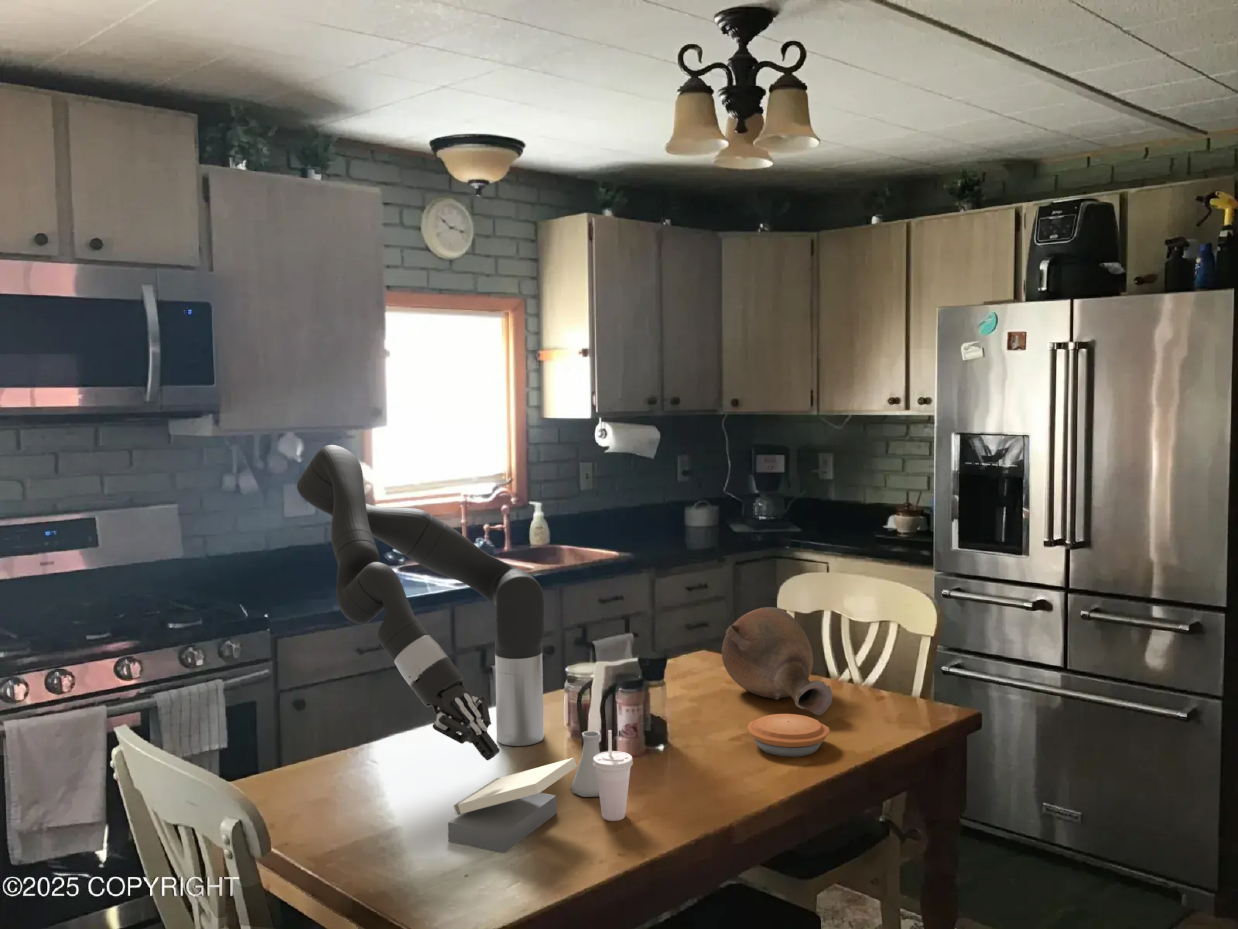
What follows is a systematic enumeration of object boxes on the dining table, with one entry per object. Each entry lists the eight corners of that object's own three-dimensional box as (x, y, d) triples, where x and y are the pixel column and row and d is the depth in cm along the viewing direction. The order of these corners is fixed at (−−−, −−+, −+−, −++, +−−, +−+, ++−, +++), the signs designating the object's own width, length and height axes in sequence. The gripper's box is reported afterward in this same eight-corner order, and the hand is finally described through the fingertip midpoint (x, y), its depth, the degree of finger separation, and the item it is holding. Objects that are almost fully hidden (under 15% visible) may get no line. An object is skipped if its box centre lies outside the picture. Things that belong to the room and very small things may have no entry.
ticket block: (504, 803, 175) (503, 786, 175) (556, 813, 171) (556, 795, 171) (448, 841, 161) (447, 822, 161) (503, 853, 157) (503, 833, 157)
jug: (714, 684, 244) (775, 747, 216) (704, 608, 238) (765, 662, 210) (792, 659, 249) (861, 717, 222) (784, 584, 243) (853, 634, 216)
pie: (794, 767, 191) (794, 740, 190) (730, 746, 202) (730, 721, 202) (846, 747, 201) (846, 722, 200) (782, 728, 212) (782, 704, 212)
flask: (564, 786, 183) (563, 730, 182) (603, 780, 186) (602, 724, 185) (580, 801, 176) (579, 743, 175) (619, 794, 179) (618, 736, 178)
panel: (495, 778, 174) (574, 757, 167) (498, 788, 173) (577, 766, 166) (452, 805, 163) (535, 783, 156) (456, 815, 163) (538, 793, 156)
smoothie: (611, 805, 174) (610, 722, 173) (641, 814, 170) (640, 730, 169) (585, 817, 169) (584, 732, 168) (616, 828, 165) (615, 740, 164)
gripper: (438, 674, 177) (501, 756, 173) (389, 695, 165) (456, 784, 161) (465, 646, 174) (529, 729, 170) (417, 666, 163) (485, 756, 158)
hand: (493, 756), depth 166 cm, fingers closed
